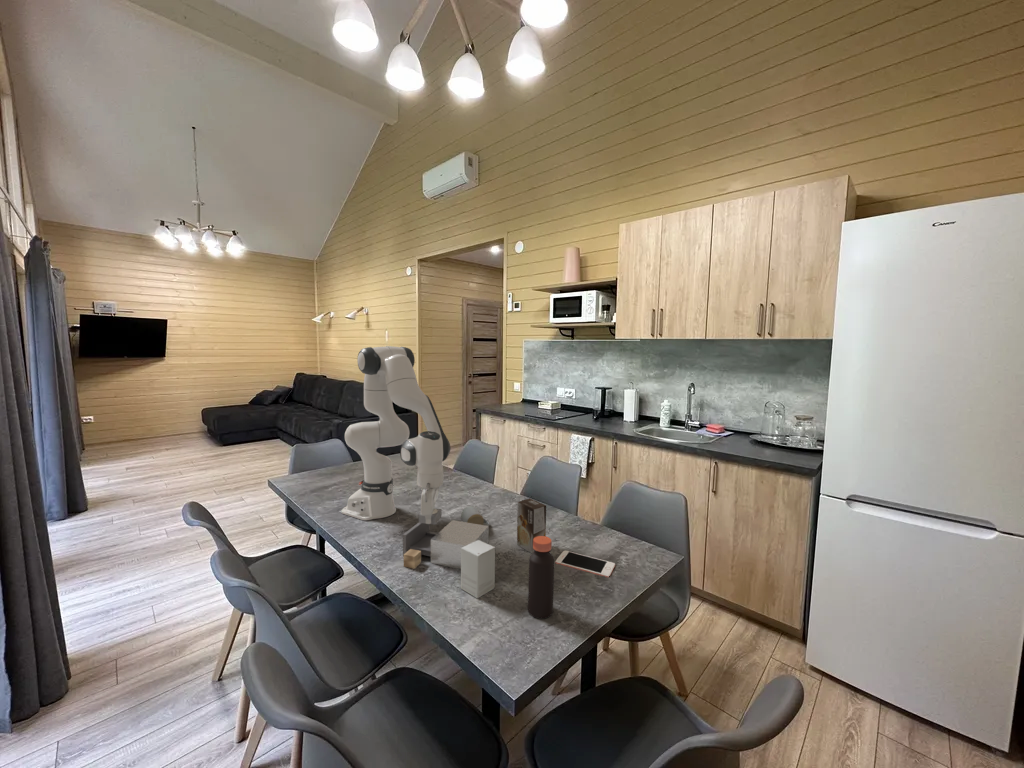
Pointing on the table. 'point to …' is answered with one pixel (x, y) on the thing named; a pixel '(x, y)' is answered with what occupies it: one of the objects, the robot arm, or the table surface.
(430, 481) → the robot arm
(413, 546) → the tray
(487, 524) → the ceramic mug
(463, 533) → the housing
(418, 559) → the block
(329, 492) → the table surface
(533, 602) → the bottle
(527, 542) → the coffee box
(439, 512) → the push button
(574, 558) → the cell phone
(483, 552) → the supplement box
